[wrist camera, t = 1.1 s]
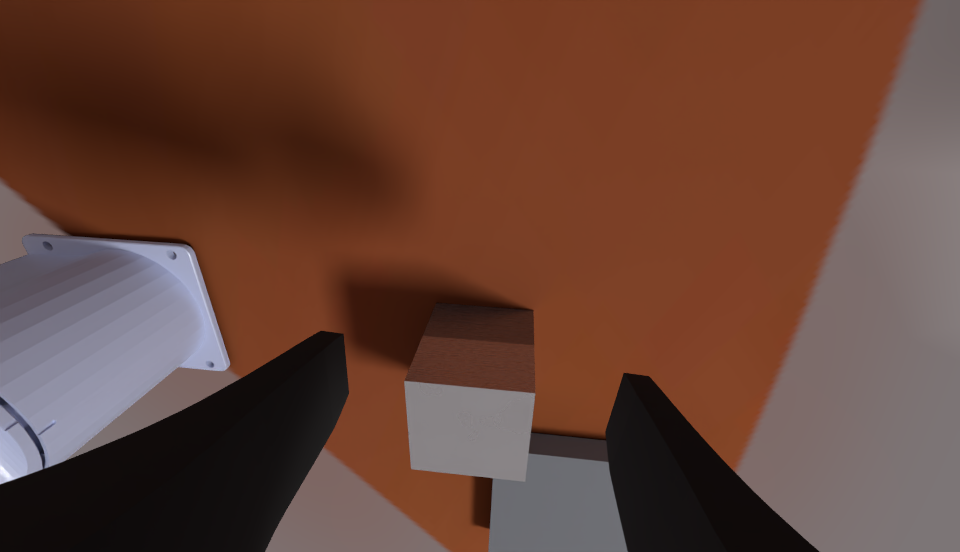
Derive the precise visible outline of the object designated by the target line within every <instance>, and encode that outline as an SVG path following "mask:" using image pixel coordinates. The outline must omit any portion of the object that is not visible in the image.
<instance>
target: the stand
mask: <svg viewBox="0 0 960 552" xmlns="http://www.w3.org/2000/svg"><path fill="white" fill-rule="evenodd" d="M489 552H628V551H627V547H626V543H625V538H624V534H623V530H622V525H621V521H620V516H619V512H618V508H617V503H616V499H615V494H614V490H613V485H612V481H611V476H610V471H609V462H608V454H607V443H606V440H596V439H587V438H577V437H567V436H558V435H548V434H539V433H531V435H530V444H529V453H528V461H527V470H526V479H525V482H523V481H514V480H505V479H496V478H493V485H492V502H491V519H490V536H489Z"/></svg>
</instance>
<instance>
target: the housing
mask: <svg viewBox="0 0 960 552" xmlns="http://www.w3.org/2000/svg"><path fill="white" fill-rule="evenodd" d="M404 382H405V395H406V408H407V421H408V433H409V446H410V459H411V469H416V470H425V471H434V472H443V473H452V474H461V475H469V476H478V477H487V478H496V479H505V480H514V481H523V482H525V479H526V470H527V461H528V453H529V444H530V435H531V426H532V417H533V408H534V400H535V361H534V316H533V310H523V309H510V308H497V307H484V306H471V305H458V304H445V303H436V304H435V307H434V309H433V312H432V314H431V317H430V319H429V322H428V324H427V327H426V329H425V331H424V334H423V336H422V339H421V341H420V344H419V346H418V349H417V351H416V354H415V356H414V359H413V361H412V363H411V366H410V368H409V371H408V373H407V376H406V378H405V381H404Z"/></svg>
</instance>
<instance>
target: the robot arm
mask: <svg viewBox="0 0 960 552" xmlns="http://www.w3.org/2000/svg"><path fill="white" fill-rule="evenodd" d="M22 243H23V245H24V247H25V249H26V251H27V253H28V255H25V256H23V257H20V258H17V259H14V260H11V261H9V262H6V263H3V264H0V552H265V550H266V548H267V546H268V544H269V542H270V540H271V537H272V536H273V534H274V532H275V530H276V528H277V526H278V524H279V522H280V520H281V519H282V517H283V515H284V513H285V511H286V509H287V508H288V506H289V505H290V503H291V501H292V499H293V498H294V496H295V494H296V492H297V491H298V489H299V488H300V486H301V484H302V483H303V481H304V479H305V477H306V476H307V474H308V472H309V470H310V469H311V467H312V466H313V464H314V462H315V460H316V459H317V457H318V455H319V453H320V452H321V450H322V448H323V447H324V445H325V443H326V442H327V440H328V438H329V436H330V435H331V433H332V431H333V429H334V427H335V425H336V423H337V420H338V418H339V416H340V414H341V411H342V409H343V407H344V404H345V402H346V399H347V397H348V394H349V388H348V378H347V367H346V356H345V345H344V334H341V333H334V332H326V331H320V332H318V333H316V334H314V335H313V336H311V337H309V338H307V339H306V340H304V341H302V342H301V343H299V344H298V345H296V346H294V347H293V348H291V349H289V350H288V351H286V352H284V353H283V354H281V355H280V356H278V357H276V358H275V359H273V360H271V361H270V362H268V363H266V364H265V365H263V366H261V367H260V368H258V369H256V370H255V371H253V372H251V373H250V374H248V375H246V376H245V377H243V378H241V379H239V380H237V381H236V382H234V383H232V384H230V385H228V386H227V387H225V388H223V389H221V390H219V391H218V392H216V393H214V394H212V395H211V396H208V397H207V398H205V399H203V400H201V401H199V402H197V403H196V404H193V405H192V406H190V407H188V408H186V409H184V410H182V411H180V412H178V413H176V414H173V415H171V416H169V417H167V418H165V419H163V420H161V421H159V422H156V423H154V424H152V425H150V426H148V427H146V428H144V429H141V430H139V431H137V432H135V433H132V434H130V435H127V436H125V437H123V438H120V439H118V440H115V441H113V442H110V443H108V444H106V445H103V446H101V447H98V448H96V449H93V450H91V451H89V452H86V453H84V454H81V455H79V456H76V457H74V458H71V459H69V460H66V459H67V458H68V457H70V456H71V455H72V454H73V453H75V452H76V451H77V450H78V449H79V448H81V447H82V446H83V445H84V444H86V443H87V442H88V441H89V440H90V439H91V438H93V437H94V436H95V435H96V434H97V433H99V432H100V431H101V430H102V429H104V428H105V427H106V426H107V425H108V424H109V423H111V422H112V421H113V420H114V419H116V418H117V417H118V416H119V415H120V414H122V413H123V412H124V411H125V410H126V409H128V408H129V407H130V406H131V405H132V404H134V403H135V402H136V401H137V400H139V399H140V398H141V397H142V396H143V395H145V394H146V393H147V392H148V391H150V390H151V389H152V388H153V387H154V386H156V385H157V384H158V383H159V382H160V381H162V380H163V379H164V378H165V377H166V376H167V375H169V374H170V373H171V372H173V371H174V370H175V369H176V368H177V367H184V368H195V369H205V370H215V371H224V370H226V369H227V368H228V367H229V365H230V361H229V358H228V355H227V352H226V348H225V345H224V342H223V339H222V336H221V333H220V330H219V327H218V324H217V320H216V317H215V314H214V311H213V308H212V305H211V302H210V299H209V296H208V292H207V289H206V286H205V283H204V280H203V277H202V274H201V271H200V268H199V264H198V261H197V258H196V255H195V252H194V251H193V249H192V248H191V247H189V246H188V245H185V244H177V243H163V242H148V241H134V240H119V239H105V238H90V237H76V236H61V235H46V234H29V235H26V236H24V237H23V238H22ZM173 252H175V254H176V255H177V256H176V255H175V254H174V253H173ZM606 443H607V454H608V462H609V471H610V476H611V481H612V485H613V490H614V494H615V499H616V503H617V508H618V512H619V516H620V521H621V525H622V530H623V534H624V538H625V543H626V547H627V551H628V552H819V551H818V550H817V549H816V548H814V547H813V546H812V545H811V544H810V543H809V542H808V541H807V540H805V539H804V538H803V537H802V536H801V535H800V534H799V533H798V532H797V531H795V530H794V529H793V528H792V527H791V526H790V525H789V524H788V523H786V522H785V520H783V519H782V518H781V517H780V516H779V515H778V514H777V513H776V512H775V511H773V510H772V509H771V508H770V507H769V506H768V505H767V504H766V503H765V502H764V501H763V500H762V499H761V498H760V497H759V496H758V495H757V494H756V493H754V492H753V491H752V489H751V488H750V487H749V486H748V485H747V484H746V483H745V482H744V481H743V480H742V479H741V478H740V477H739V476H738V475H737V474H736V473H735V472H734V471H733V470H732V469H731V468H730V467H729V466H728V465H727V464H726V463H725V462H724V461H723V460H722V459H721V457H720V456H719V455H718V454H717V453H716V452H715V451H714V450H713V449H712V448H711V447H710V446H709V445H708V443H707V442H706V441H705V440H704V439H703V438H702V437H701V436H700V434H699V433H698V432H697V431H696V430H695V429H694V428H693V427H692V425H691V424H690V423H689V422H688V421H687V420H686V419H685V417H684V416H683V415H682V414H681V413H680V412H679V410H678V409H677V408H676V407H675V406H674V405H673V403H672V402H671V401H670V400H669V399H668V398H667V396H666V395H665V394H664V393H663V392H662V390H661V389H660V388H659V387H658V386H657V385H656V384H655V382H654V381H653V380H652V379H651V378H650V377H649V376H643V375H636V374H629V373H624V374H623V377H622V381H621V384H620V387H619V390H618V393H617V397H616V400H615V403H614V406H613V409H612V412H611V416H610V419H609V422H608V425H607V428H606ZM65 460H66V461H65Z"/></svg>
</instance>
